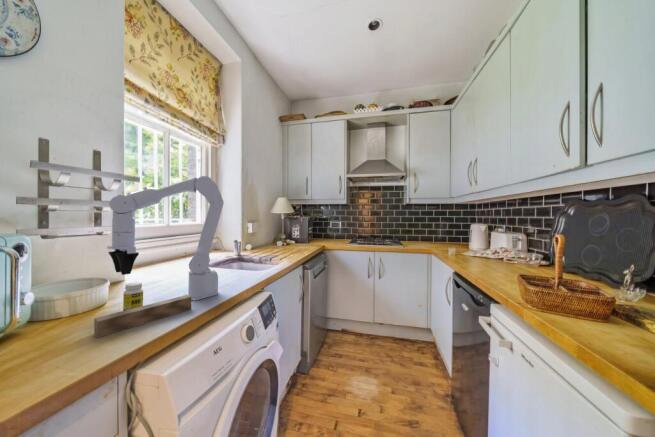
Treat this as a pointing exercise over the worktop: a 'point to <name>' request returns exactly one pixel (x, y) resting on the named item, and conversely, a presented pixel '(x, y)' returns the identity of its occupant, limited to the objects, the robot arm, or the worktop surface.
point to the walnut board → (140, 315)
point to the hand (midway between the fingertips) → (123, 273)
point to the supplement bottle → (133, 296)
